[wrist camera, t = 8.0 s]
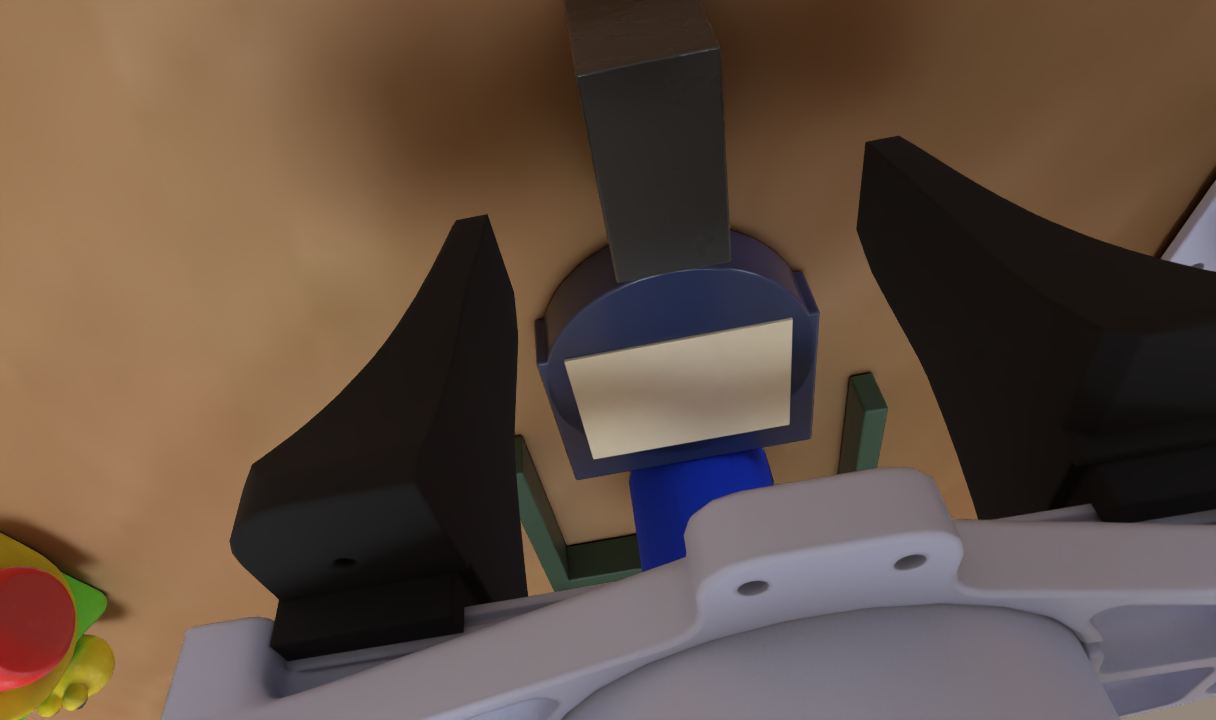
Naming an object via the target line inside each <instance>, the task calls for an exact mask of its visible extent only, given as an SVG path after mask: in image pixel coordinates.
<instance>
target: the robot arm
mask: <svg viewBox="0 0 1216 720" xmlns="http://www.w3.org/2000/svg"><path fill="white" fill-rule="evenodd" d="M857 232H858V235H859V238H860V241H861V244H862V247H863V250H864V253H865V255H866V258H867V261H868V263H869V266H870V269H871V271H872V273H873V275H874V277H875V279H876V281H877V283H878V285H879V287H880V289H881V291H882V292H883V294H884V296H885V298H886V300H887V302H888V304H889V305H890V307H891V309H892V311H893V313H894V314H895V316H896V318H897V320H898V322H899V324H900V325H901V327H902V329H903V331H904V333H905V334H906V336H907V338H908V340H909V342H910V344H911V345H912V347H913V349H914V351H915V353H916V355H917V356H918V358H919V360H920V362H921V364H922V367H923V369H924V371H925V373H926V375H927V377H928V380H929V382H930V385H931V387H932V390H933V392H934V395H935V397H936V400H937V402H938V405H939V407H940V410H941V412H942V415H943V418H944V420H945V423H946V426H947V428H948V431H949V434H950V437H951V439H952V442H953V445H954V447H955V450H956V453H957V456H958V459H959V462H960V465H961V468H962V471H963V474H964V476H965V479H966V482H967V485H968V488H969V491H970V494H971V497H972V500H973V503H974V507H975V510H976V513H977V517H978V520H970V519H952V517H951V515H950V513H949V511H948V509H947V507H946V505H945V502H944V500H943V498H942V496H941V494H940V492H939V489H938V487H937V485H936V483H935V481H934V479H933V477H931V476H929V475H926V474H924V473H922V472H920V471H917V470H915V469H913V468H909V467H879V468H873V469H867V470H861V471H855V472H849V473H844V474H838V475H832V476H826V477H820V478H814V479H808V480H802V481H796V482H791V483H785V484H779V485H773V486H767V487H761V488H755V489H749V490H744V491H739V492H736V493H733V494H730V495H726V496H723V497H720V498H717V499H714V500H712V501H711V502H709V503H708V504H706V505H705V506H704V507H702V508H701V509H700V510H698V511H697V512H696V513H694V514H693V515H692V516H691V517H690V518H689V521H688V524H687V527H686V530H685V533H684V540H685V546H686V557H684V558H681V559H679V560H676V561H673V562H670V563H667V564H664V565H662V566H659V567H656V568H653V569H650V570H647V571H644V572H642V573H639V574H636V575H633V576H630V577H627V578H625V579H622V580H619V581H616V582H613V583H607V584H601V585H595V586H589V587H583V588H577V589H571V590H565V591H559V592H553V593H547V594H541V595H535V596H529V597H528V591H527V583H526V574H525V564H524V554H523V544H522V534H521V523H520V512H519V500H518V488H517V474H516V460H515V405H516V381H517V355H518V330H517V318H516V308H515V298H514V291H513V288H512V285H511V282H510V279H509V277H508V274H507V271H506V268H505V265H504V262H503V259H502V256H501V253H500V250H499V247H498V244H497V241H496V238H495V235H494V232H493V229H492V226H491V223H490V220H489V217H488V214H486V215H481V216H475V217H470V218H465V219H460V220H456V222H455V223H454V225H453V226H452V228H451V230H450V232H449V234H448V236H447V238H446V240H445V242H444V244H443V246H442V248H441V250H440V252H439V254H438V256H437V258H436V260H435V262H434V264H433V266H432V268H431V270H430V272H429V273H428V275H427V277H426V279H425V281H424V282H423V284H422V286H421V288H420V290H419V291H418V293H417V295H416V297H415V298H414V300H413V301H412V303H411V305H410V306H409V308H408V309H407V311H406V312H405V314H404V315H403V317H402V319H401V320H400V322H399V323H398V325H397V326H396V328H395V329H394V331H393V332H392V333H391V335H390V336H389V338H388V339H387V340H386V342H385V343H384V344H383V346H382V347H381V348H380V349H379V351H378V352H377V353H376V354H375V356H374V357H373V358H372V359H371V360H370V362H369V363H368V364H367V365H366V366H365V367H364V368H363V369H362V370H361V371H360V372H359V373H358V375H357V376H356V377H355V378H354V379H353V380H352V381H351V382H350V383H349V384H348V385H347V386H346V387H345V388H344V389H343V390H342V391H341V393H340V394H339V395H338V396H336V397H335V398H334V399H333V400H332V401H331V402H330V403H329V404H328V405H327V406H326V407H325V408H324V409H323V410H321V411H320V412H319V413H318V414H317V415H316V416H315V417H313V418H312V419H311V420H310V421H309V422H308V423H306V424H305V425H304V426H303V427H302V428H300V429H299V430H298V431H297V432H296V433H294V434H293V435H292V436H290V437H289V438H288V439H286V440H285V441H284V442H282V443H281V444H280V445H278V446H277V447H276V448H274V449H273V450H272V451H270V452H269V453H268V454H266V455H265V456H264V457H262V458H261V459H259V460H258V461H257V462H255V463H254V464H252V466H251V469H250V472H249V475H248V477H247V480H246V483H245V485H244V488H243V492H242V496H241V499H240V503H239V507H238V511H237V515H236V519H235V522H234V526H233V530H232V534H231V538H230V545H231V550H232V553H233V555H234V556H235V557H236V558H237V560H238V561H239V562H240V564H241V565H242V566H243V567H244V568H245V569H246V570H248V571H249V572H250V573H251V574H252V575H253V576H254V577H255V578H256V579H257V580H258V581H259V582H261V583H262V584H263V585H264V586H265V587H266V588H267V589H268V590H269V591H270V592H271V593H273V594H274V595H275V596H276V597H277V598H278V599H279V603H278V608H277V613H276V618H275V621H273V620H271V619H268V618H262V617H248V618H242V619H236V620H230V621H224V622H218V623H212V624H206V625H200V626H194V627H191V628H190V629H188V630H187V631H186V633H185V636H184V640H183V643H182V646H181V650H180V653H179V657H178V660H177V664H176V667H175V671H174V674H173V678H172V681H171V685H170V688H169V692H168V695H167V699H166V702H165V706H164V709H163V713H162V716H161V720H1120V719H1123V718H1127V717H1131V716H1136V715H1140V714H1144V713H1148V712H1152V711H1156V710H1161V709H1165V708H1169V707H1173V706H1178V705H1182V704H1186V703H1190V702H1195V701H1199V700H1203V699H1207V698H1211V697H1215V696H1216V180H1215V181H1214V183H1213V184H1212V186H1211V187H1210V189H1209V190H1208V191H1207V193H1206V194H1205V196H1204V197H1203V199H1202V200H1201V201H1200V203H1199V204H1198V206H1197V207H1196V209H1195V210H1194V211H1193V213H1192V214H1191V216H1190V217H1189V219H1188V220H1187V221H1186V223H1185V224H1184V226H1183V227H1182V229H1181V230H1180V231H1179V233H1178V234H1177V236H1176V237H1175V239H1174V240H1173V241H1172V243H1171V244H1170V246H1169V247H1168V249H1167V250H1166V251H1165V253H1164V254H1163V256H1162V257H1161V259H1159V258H1155V257H1152V256H1148V255H1145V254H1141V253H1137V252H1134V251H1131V250H1128V249H1125V248H1122V247H1119V246H1115V245H1112V244H1109V243H1106V242H1103V241H1100V240H1097V239H1094V238H1092V237H1089V236H1086V235H1083V234H1081V233H1078V232H1076V231H1073V230H1071V229H1068V228H1066V227H1064V226H1061V225H1059V224H1056V223H1054V222H1052V221H1049V220H1047V219H1045V218H1042V217H1040V216H1038V215H1036V214H1034V213H1032V212H1029V211H1027V210H1025V209H1024V208H1022V207H1020V206H1018V205H1016V204H1014V203H1012V202H1010V201H1008V200H1006V199H1004V198H1002V197H1000V196H998V195H997V194H995V193H993V192H991V191H989V190H988V189H986V188H984V187H982V186H981V185H979V184H977V183H975V182H974V181H972V180H970V179H969V178H967V177H965V176H964V175H962V174H960V173H959V172H957V171H956V170H954V169H952V168H951V167H949V166H947V165H946V164H944V163H943V162H941V161H939V160H938V159H936V158H935V157H933V156H932V155H930V154H928V153H927V152H925V151H924V150H922V149H920V148H919V147H917V146H916V145H914V144H912V143H911V142H909V141H907V140H905V139H904V138H902V137H900V136H895V137H889V138H884V139H879V140H874V141H868V142H866V143H865V153H864V162H863V172H862V181H861V191H860V200H859V210H858V219H857Z"/></svg>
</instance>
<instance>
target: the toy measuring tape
mask: <svg viewBox="0 0 1216 720" xmlns="http://www.w3.org/2000/svg"><path fill="white" fill-rule="evenodd" d="M106 606H107V599H106V597H105V596H104V594H103V593H101V592H100V591H98V590H96V589H94V588H92V587H90V586H88V585H86V584H84V583H82V582H80V581H78V580H76V579H74V578H72V577H70V576H68V575H66V574H64V573H62V572H60V571H59V570H58V569H57V567H56V566H55V565H53V564H52V563H51V562H50V561H49V560H48V559H46V558H45V557H44V556H42V555H41V554H39V553H37V552H36V551H34V550H32V549H30V548H28V547H27V546H25V545H23V544H21V543H19V542H17V541H15V540H13V539H12V538H10V537H8V536H6V535H4V534H2V533H0V720H22V719H24V718H25V717H26V716H28V715H29V714H30V713H31V712H32V711H33V710H34V709H36V708H37V712H38V714H39V715H41V716H43V717H50V716H53V715H55V714H56V713H58V711H59V710H60V709H61V707H62V706H63V707H64V709H66V710H69V711H75V710H78V709H80V708H82V707H83V706H84V705H85V703H86V701H87V700H88V697H89V696H91V695H93V694H95V693H97V692H98V691H99V690H101V689H102V688H103V687H104V686H105V685H106V683H107V682H108V681H109V679H110V678H111V676H112V674H113V670H114V665H115V658H114V654H113V651H112V649H111V648H110V646H109V645H108V643H107V642H106V641H104V640H103V639H101V638H99V637H97V636H94V635H84V632H85V631H86V630H87V629H88V628H89V627H90V626H91V625H92V624H93V623H94V622H95V621H96V620H98V619H99V618H100V617H101V616H102V614H103V613H104V611H105V610H106Z"/></svg>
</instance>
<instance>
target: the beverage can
mask: <svg viewBox="0 0 1216 720" xmlns="http://www.w3.org/2000/svg"><path fill="white" fill-rule="evenodd" d="M629 485H630V492H631V499H632V505H633V512H634V519H635V526H636V533H637V540H638V546H639V553H640V560H641V567H642V572H644V571H647V570H650V569H653V568H656V567H659V566H662V565H664V564H667V563H670V562H673V561H676V560H679V559H681V558H684V557H686V546H685V540H684V533H685V530H686V527H687V524H688V521H689V518H690V517H691V516H692V515H693V514H694V513H696V512H697V511H698V510H700V509H701V508H702V507H704V506H705V505H706V504H708V503H709V502H711V501H712V500H714V499H717V498H720V497H723V496H726V495H730V494H733V493H736V492H739V491H744V490H749V489H755V488H761V487H767V486H773V485H775V484H774V480H773V477H772V474H771V470H770V467H769V464H768V460H767V457H766V454H765V452H764V451H763V449H762V448H756V449H751V450H745V451H739V452H734V453H728V454H722V455H717V456H711V457H705V458H700V459H694V460H689V461H683V462H677V463H672V464H666V465H660V466H655V467H649V468H643V469H638V470H632V472H631V475H630V481H629Z"/></svg>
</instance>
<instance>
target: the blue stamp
mask: <svg viewBox="0 0 1216 720" xmlns="http://www.w3.org/2000/svg"><path fill="white" fill-rule="evenodd" d="M563 1H564V7H565V14H566V20H567V27H568V33H569V40H570V46H571V53H572V59H573V66H574V72H575V78H576V83H577V88H578V93H579V98H580V103H581V108H582V113H583V118H584V123H585V128H586V133H587V138H588V143H589V148H590V153H591V158H592V163H593V168H594V173H595V178H596V183H597V188H598V193H599V198H600V203H601V208H602V213H603V218H604V223H605V228H606V232H607V237H608V242H609V246H608V247H606V248H604V249H603V250H601V251H599V252H598V253H596V254H595V255H593V256H591V257H590V258H588V259H587V260H586V261H585V262H583V263H582V264H581V265H580V266H579V267H577V268H576V269H575V270H574V271H573V272H572V273H571V274H570V275H569V276H568V277H567V278H566V279H565V280H564V282H563V283H562V284H561V286H560V287H559V288H558V290H557V291H556V293H555V294H554V296H553V298H552V300H551V302H550V304H549V306H548V308H547V311H546V314H545V317H544V319H543V320H538V321H535V324H534V327H535V345H536V364H537V367H538V370H539V373H540V376H541V379H542V382H543V385H544V388H545V391H546V394H547V397H548V399H549V402H550V405H551V408H552V411H553V414H554V417H555V420H556V423H557V426H558V429H559V432H560V435H561V437H562V440H563V443H564V446H565V449H566V452H567V455H568V458H569V461H570V464H571V467H572V470H573V473H574V475H575V478H576V480H581V479H587V478H593V477H598V476H604V475H609V474H615V473H621V472H626V471H632V470H638V469H643V468H649V467H655V466H660V465H666V464H672V463H677V462H683V461H689V460H694V459H700V458H705V457H711V456H717V455H722V454H728V453H734V452H739V451H745V450H751V449H756V448H762V447H768V446H773V445H779V444H785V443H790V442H796V441H802V440H807V439H810V438H811V434H812V419H813V404H814V389H815V374H816V359H817V344H818V329H819V315H820V312H819V309H818V307H817V305H816V302H815V300H814V298H813V295H812V293H811V290H810V288H809V286H808V283H807V281H806V279H805V276H804V274H803V272H794V273H793V272H792V270H791V269H790V268H789V266H788V265H787V263H786V262H785V261H784V260H783V259H782V258H781V257H780V256H779V255H778V254H777V253H776V252H774V251H773V250H771V249H770V248H768V247H767V246H766V245H764V244H763V243H761V242H759V241H757V240H755V239H753V238H751V237H749V236H746V235H743V234H740V233H737V232H734V231H730V222H729V202H728V182H727V161H726V141H725V121H724V101H723V81H722V61H721V46H720V44H719V42H718V40H717V38H716V35H715V33H714V31H713V29H712V26H711V24H710V22H709V20H708V18H707V15H706V13H705V11H704V9H703V6H702V4H701V2H700V0H563Z"/></svg>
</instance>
